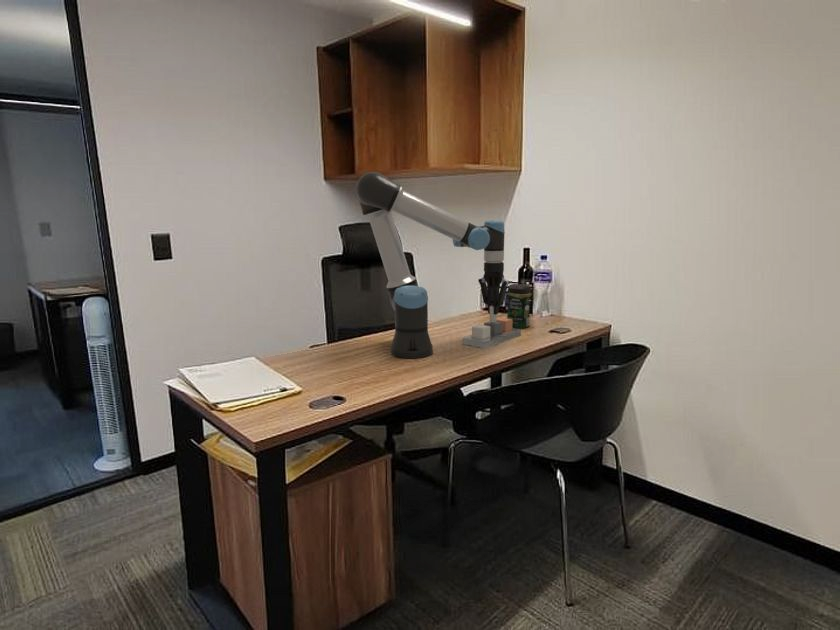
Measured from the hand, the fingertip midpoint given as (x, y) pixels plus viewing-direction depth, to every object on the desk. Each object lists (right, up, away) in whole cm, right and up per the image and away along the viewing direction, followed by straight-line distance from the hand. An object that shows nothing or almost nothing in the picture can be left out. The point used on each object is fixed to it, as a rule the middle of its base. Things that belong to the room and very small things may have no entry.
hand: (493, 322), depth 201 cm
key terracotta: (+5, -4, +7) cm, 10 cm away
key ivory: (-5, -6, -5) cm, 10 cm away
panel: (0, -7, +1) cm, 7 cm away
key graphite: (0, -5, +1) cm, 5 cm away
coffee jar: (+14, -2, +23) cm, 27 cm away
